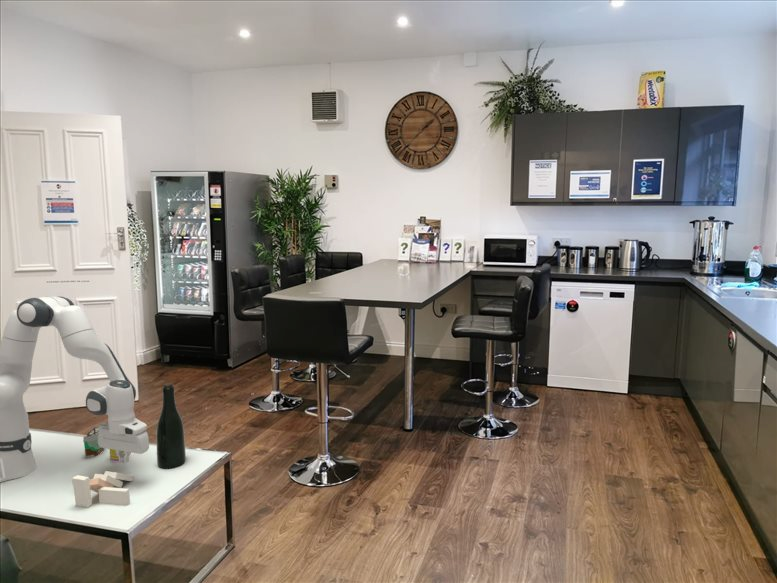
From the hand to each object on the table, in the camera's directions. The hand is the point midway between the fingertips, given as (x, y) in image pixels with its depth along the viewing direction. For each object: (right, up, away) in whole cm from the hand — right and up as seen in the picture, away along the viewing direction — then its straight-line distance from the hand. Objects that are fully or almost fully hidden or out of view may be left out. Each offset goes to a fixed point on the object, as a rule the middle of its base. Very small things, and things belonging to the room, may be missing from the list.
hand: (124, 461), depth 212 cm
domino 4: (-1, -7, -3) cm, 8 cm away
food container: (-22, -5, +25) cm, 33 cm away
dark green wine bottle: (+12, -6, +14) cm, 20 cm away
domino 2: (-3, -8, -8) cm, 11 cm away
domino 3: (0, -7, +2) cm, 7 cm away
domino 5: (-1, -7, -15) cm, 16 cm away
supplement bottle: (-10, -5, +19) cm, 22 cm away
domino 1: (-6, -10, -17) cm, 20 cm away
